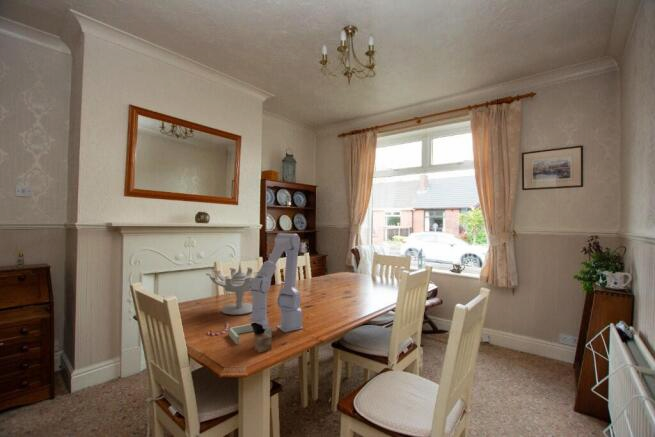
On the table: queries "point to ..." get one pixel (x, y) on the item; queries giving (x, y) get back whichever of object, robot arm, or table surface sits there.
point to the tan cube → (262, 342)
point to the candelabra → (235, 289)
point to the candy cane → (218, 333)
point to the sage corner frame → (243, 331)
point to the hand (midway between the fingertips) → (259, 341)
